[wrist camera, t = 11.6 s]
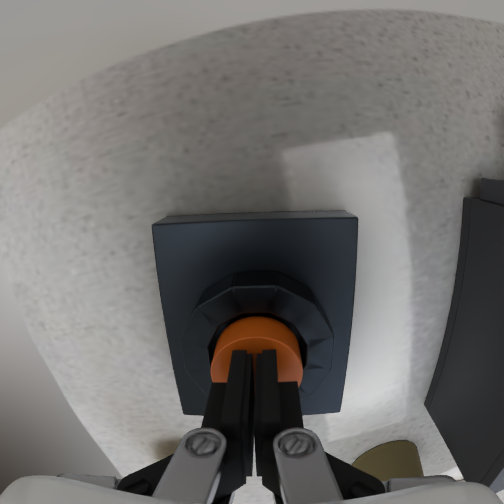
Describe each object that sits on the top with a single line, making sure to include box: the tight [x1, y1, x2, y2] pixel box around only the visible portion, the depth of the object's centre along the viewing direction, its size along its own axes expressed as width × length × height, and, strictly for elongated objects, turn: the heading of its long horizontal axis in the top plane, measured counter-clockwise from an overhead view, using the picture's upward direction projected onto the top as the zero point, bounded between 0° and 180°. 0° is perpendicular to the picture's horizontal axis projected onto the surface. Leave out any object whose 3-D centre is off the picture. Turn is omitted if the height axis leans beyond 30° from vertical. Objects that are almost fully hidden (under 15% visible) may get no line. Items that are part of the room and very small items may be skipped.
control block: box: [152, 210, 358, 416], centre depth 15 cm, size 11×9×4 cm
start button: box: [211, 316, 303, 395], centre depth 13 cm, size 4×4×2 cm
